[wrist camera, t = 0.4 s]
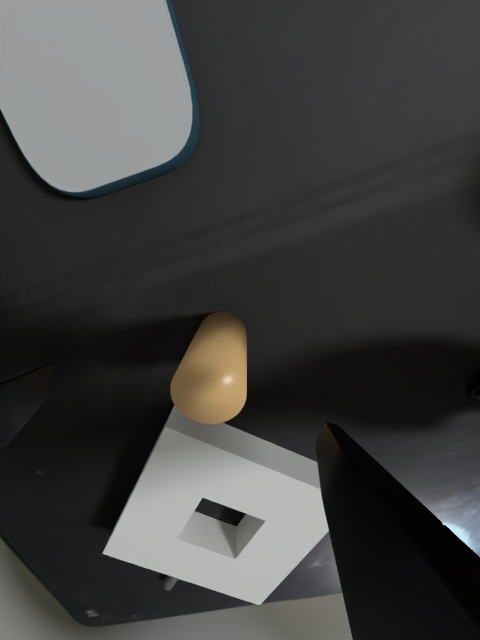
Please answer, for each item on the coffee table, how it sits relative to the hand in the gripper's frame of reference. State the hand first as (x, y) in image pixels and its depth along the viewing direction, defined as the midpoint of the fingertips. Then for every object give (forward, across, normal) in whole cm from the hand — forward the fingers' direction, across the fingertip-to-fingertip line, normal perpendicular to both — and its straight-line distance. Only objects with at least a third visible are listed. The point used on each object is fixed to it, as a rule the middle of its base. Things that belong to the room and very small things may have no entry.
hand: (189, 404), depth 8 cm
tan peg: (+12, 0, +3) cm, 13 cm away
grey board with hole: (+12, -3, +24) cm, 28 cm away
